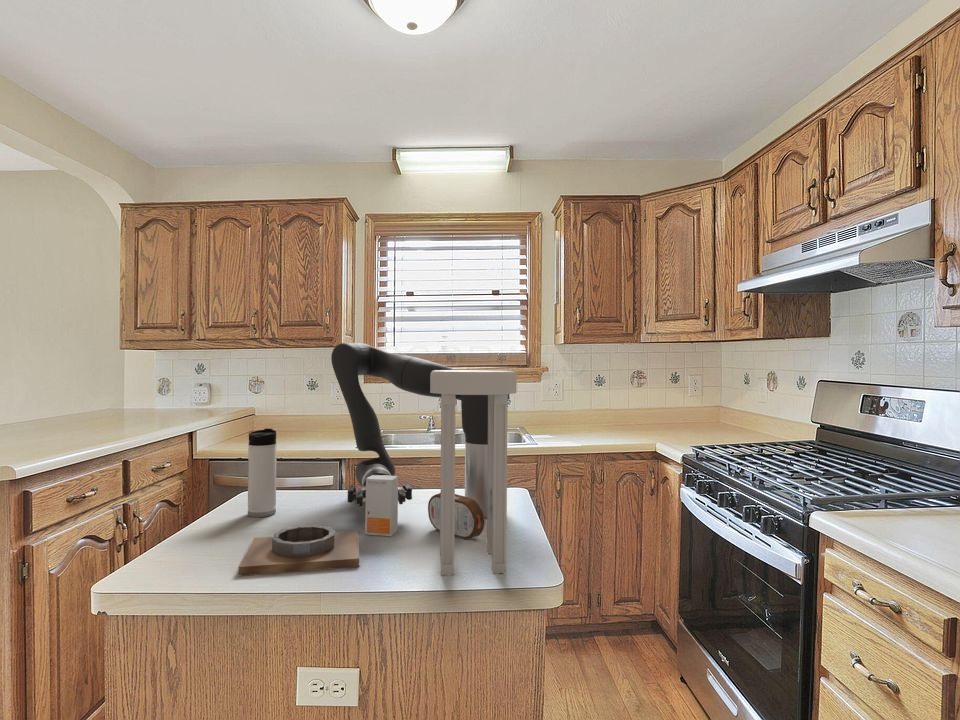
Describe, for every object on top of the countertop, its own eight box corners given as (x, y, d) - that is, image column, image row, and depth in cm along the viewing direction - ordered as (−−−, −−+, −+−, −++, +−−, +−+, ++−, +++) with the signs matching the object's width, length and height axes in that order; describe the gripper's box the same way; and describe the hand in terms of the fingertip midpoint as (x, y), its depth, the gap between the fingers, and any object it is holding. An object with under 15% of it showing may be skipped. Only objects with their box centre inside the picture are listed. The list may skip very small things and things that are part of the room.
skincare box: (364, 535, 117) (364, 478, 117) (371, 529, 121) (372, 474, 121) (392, 537, 116) (392, 479, 116) (398, 530, 120) (398, 475, 120)
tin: (485, 541, 114) (485, 499, 114) (474, 544, 112) (475, 502, 112) (435, 525, 124) (436, 488, 124) (425, 528, 122) (425, 490, 122)
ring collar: (335, 536, 111) (335, 524, 111) (333, 555, 100) (333, 541, 100) (276, 540, 108) (276, 527, 108) (268, 559, 98) (268, 545, 98)
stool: (428, 580, 93) (430, 371, 93) (429, 549, 108) (430, 369, 109) (519, 577, 94) (521, 371, 94) (507, 547, 110) (509, 370, 110)
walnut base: (357, 538, 114) (357, 531, 114) (359, 566, 99) (359, 558, 99) (254, 545, 110) (254, 537, 110) (238, 575, 94) (238, 566, 94)
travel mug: (281, 510, 136) (281, 428, 136) (268, 518, 129) (268, 431, 129) (256, 509, 136) (257, 428, 136) (242, 517, 130) (243, 431, 130)
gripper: (348, 469, 134) (347, 484, 118) (407, 467, 137) (414, 481, 121) (347, 501, 134) (347, 519, 118) (407, 498, 137) (414, 516, 121)
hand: (381, 500), depth 119 cm, fingers open, 8 cm apart
